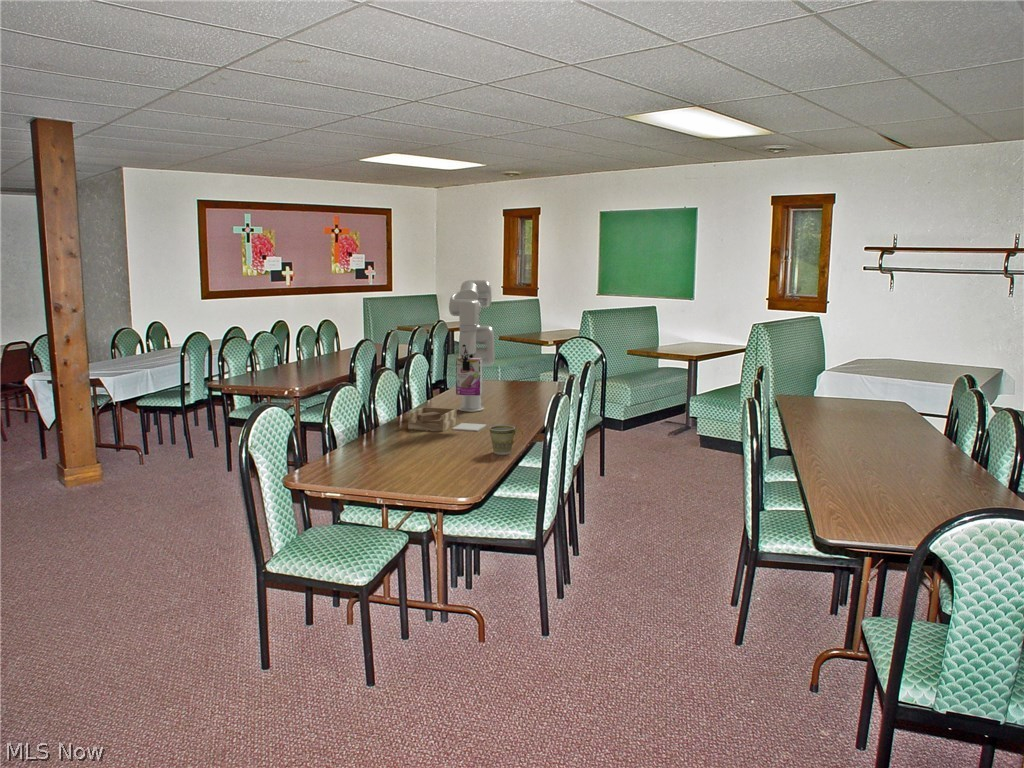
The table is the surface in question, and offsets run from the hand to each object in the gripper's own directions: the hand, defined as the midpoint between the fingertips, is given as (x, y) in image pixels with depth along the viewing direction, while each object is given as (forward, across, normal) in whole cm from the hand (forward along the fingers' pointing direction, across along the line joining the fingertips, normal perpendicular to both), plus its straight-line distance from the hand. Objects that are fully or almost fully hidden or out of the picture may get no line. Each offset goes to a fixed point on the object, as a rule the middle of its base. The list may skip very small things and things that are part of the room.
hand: (468, 369), depth 334 cm
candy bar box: (+12, 0, 0) cm, 12 cm away
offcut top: (+23, +6, -17) cm, 29 cm away
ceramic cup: (+27, +39, +30) cm, 56 cm away
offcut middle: (+25, +6, -17) cm, 31 cm away
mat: (+27, 0, 0) cm, 27 cm away
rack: (+27, +2, -17) cm, 32 cm away
